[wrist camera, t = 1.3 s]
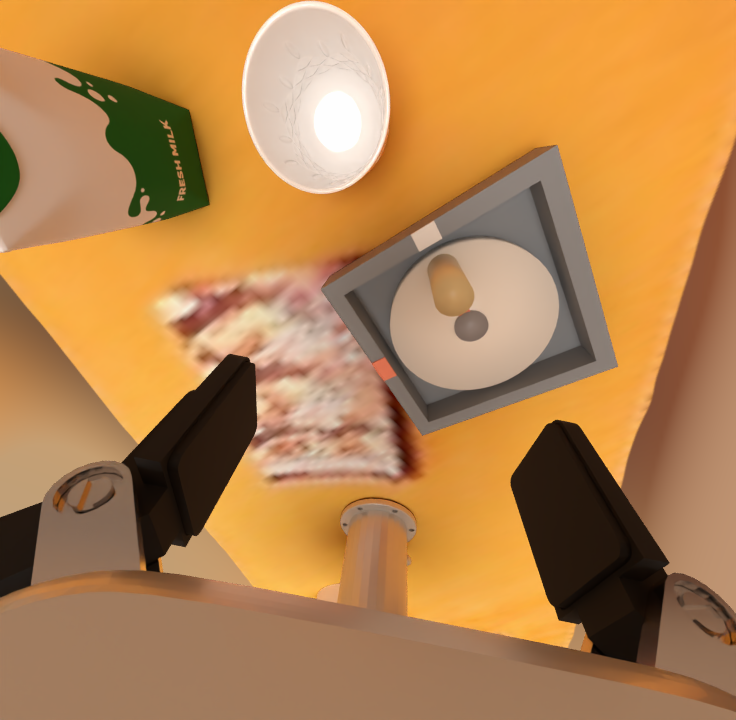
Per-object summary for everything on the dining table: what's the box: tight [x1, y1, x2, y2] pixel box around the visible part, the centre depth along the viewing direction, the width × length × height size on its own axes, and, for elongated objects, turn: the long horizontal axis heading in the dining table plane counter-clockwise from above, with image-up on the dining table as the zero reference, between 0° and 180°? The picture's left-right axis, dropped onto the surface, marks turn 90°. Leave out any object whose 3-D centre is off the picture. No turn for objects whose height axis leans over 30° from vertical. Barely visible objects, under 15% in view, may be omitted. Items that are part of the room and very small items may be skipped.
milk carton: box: [0, 48, 209, 253], centre depth 19 cm, size 9×9×20 cm
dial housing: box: [321, 145, 618, 436], centre depth 30 cm, size 20×20×4 cm
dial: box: [390, 236, 559, 390], centre depth 27 cm, size 15×15×9 cm
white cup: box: [242, 1, 390, 194], centre depth 21 cm, size 8×8×10 cm
